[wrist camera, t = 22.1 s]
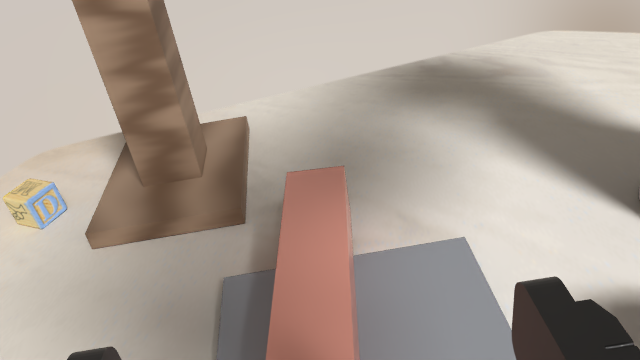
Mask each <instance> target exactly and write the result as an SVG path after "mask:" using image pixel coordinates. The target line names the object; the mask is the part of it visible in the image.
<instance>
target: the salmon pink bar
mask: <svg viewBox="0 0 640 360" xmlns="http://www.w3.org/2000/svg"><path fill="white" fill-rule="evenodd" d="M266 360H360V356H359V340H358V324H357V308H356V292H355V276H354V260H353V244H352V228H351V212H350V205H349V198H348V191H347V184H346V176H345V169H344V166H338V167H329V168H321V169H312V170H303V171H295V172H287V176H286V185H285V194H284V202H283V211H282V220H281V229H280V238H279V247H278V255H277V264H276V273H275V282H274V291H273V300H272V309H271V317H270V326H269V335H268V344H267V353H266Z"/></svg>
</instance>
